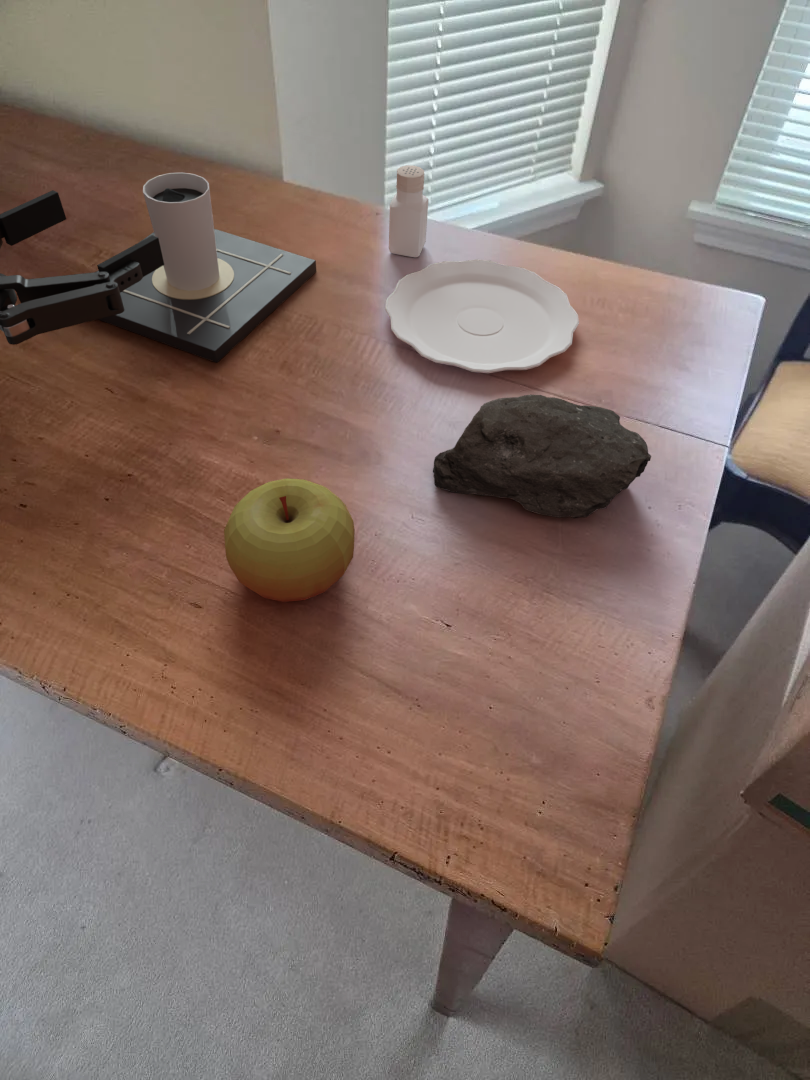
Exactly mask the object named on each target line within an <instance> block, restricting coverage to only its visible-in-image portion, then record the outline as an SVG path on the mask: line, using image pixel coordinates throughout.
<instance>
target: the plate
mask: <svg viewBox="0 0 810 1080" xmlns="http://www.w3.org/2000/svg"><path fill="white" fill-rule="evenodd" d="M384 306H385V307H384V310H385V311H386V313H387V315H388V317H389V319H390V329H391V332H392V333H393V334H394V335H395V337H396V338H397V339H398V340H400V341H401V342H403V343H405V344H407V345H409V346H410V347H412V348H413V349H414V351H416V352H417V353H418V354H419V355H420V356H421V357H422V358H425V359H426V360H429V361H432V362H433V363H434V364H435V363H436V364H441V365H447V366H454V367H456V368H460V369H463V370H466V371H469V372H471V373H480V374H481V373H482V374H492V373H498V372H502V371H503V372H504V371H527V370H530V369H534V368H537V367H540V366H541V365H543V364H544V363H545V362H547V361H548V360H550V358H553V357H556V356H558V355H560V354H564V353H565V352H566V351H567V350H568V349H569V348H570V347H571V346H572V344H573V339H574V333H575V331H576V330H577V328H578V327H579V325H580V320H579V314H578V312H577V311H576V310H575V308H574V307H573V306H572V305H571V303H570V299H569V297H568V294H567V293H566V292H564V291H563V289H562V288H561V287H559V286H558V285H555V284H553V283H551V282H549V281H547V280H546V279H544V278H543V277H542V276H540V275H539V274H537V273H536V272H535V271H533V270H529V269H527V268H524V267H522V266H521V267H520V266H515V265H508V264H503V263H500V262H496V261H494V260H490V259H479V258H477V259H469V260H461V261H459V260H457V261H455V260H453V261H452V260H451V261H447V260H445V261H440V262H435V263H431V264H429V265H427V266H426V267H424V268H422V269H420V270H418V271H415V272H412V273H409V274H406V275H405V276H403V277H402V278H400V279H399V280H397V283H396V286H395V288H394V291H393V292H392V293H390V294H389V296H387V298H386V300H385V305H384Z"/></svg>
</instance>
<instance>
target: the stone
mask: <svg viewBox="0 0 810 1080" xmlns="http://www.w3.org/2000/svg"><path fill="white" fill-rule="evenodd" d="M620 419H621V416H620V415H619V414H618V413H616V412H615V411H614V410H612V409H608V408H605V407H600V406H594V405H587V404H586V405H585V404H584V405H581V404H580V405H579V404H576V403H573V402H570V401H567V400H565V399H563V398H559V397H551V396H550V397H549V396H546V395H542V394H525V395H521V396H517V397H516V396H512V397H499V398H496V399H492V400H490V401H487V402H485V403H483V404H482V405H480V408H479V410H478V411H477V412H476V413H475V414H474V416H473V417H472V419H471V421H470V422H469V423H468V425H467V426H465V428H464V430H463V432H462V433H461V435H460V437H459V438H458V440H457V442H456V443H455V445H454V446H453V447H452V448H450V449H447V450H444V451H442V452H439V453H438V454H437V455H436V456H435V457H434V460H433V468H432V473H433V478H434V479H433V481H434V483H433V484H434V486H435V487H437V488H438V489H440V490H445V491H448V492H451V493H457V494H458V493H459V494H465V495H470V494H471V495H478V496H483V497H486V496H492V497H495V498H500V499H504V498H506V499H510V500H513V501H515V502H517V503H519V504H520V505H521V506H522V507H523V508H524V509H525V510H526V511H528V512H531V513H535V514H538V515H542V516H548V517H553V518H567V517H570V518H587V517H589V516H590V515H591V514H593V513H594V512H596V511H598V510H603V509H607V507H608V506H609V504H610V503H611V501H612V500H613V499H614V498H615V497H616V496H617V495H618V494H620V493H621V491H622V490H623V491H624V490H627V489H628V488H629V486H630V485H631V484H632V483H633V482H634V481H635V480H636V478H639V477H641V475H642V473H644V472H645V470H646V467H647V466H648V463H649V462H650V461H651V459H652V455H651V454H650V452H649V447H648V445H647V442H646V440H644V438H643V437H642V436H641V434H640V433H638V432H636V431H633V430H630V429H628V428H626V427H624V426H623V425H622V424H621V421H620Z"/></svg>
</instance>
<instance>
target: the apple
mask: <svg viewBox="0 0 810 1080" xmlns="http://www.w3.org/2000/svg"><path fill="white" fill-rule="evenodd" d="M355 534H356V531H355V523H354V519H353V517H352V515H351V513H350V511H349V509H348V507H347V505H346V504H345V502H344V501H343V500H342V499H341V498H340V497H339V496H338V495H337V494H335V493H334V492H333V491H331V490H330V489H329V488H328V487H326V486H325V485H322V484H318V483H315V482H313V481H310V480H307V479H302V478H282V479H281V478H280V479H277V480H271V481H267V482H266V483H264V484H262V485H261V484H260V485H259V486H257V487H255V488H253V489H251V490H250V491H249V492H248V493H247V494H245V495H244V497H242V499H240V500H239V501H238V502H237V503H236V504H235V505H234V507H233V509H232V510H231V513H230V515H229V518H228V520H227V522H226V524H225V526H224V529H223V539H224V550H225V558H226V561H227V564H228V566H229V568H230V570H231V571H232V573H233V575H234V576H235V578H236V579H237V580H238V582H239V583H240V584H241V585H243V586H245V587H246V588H248V589H249V590H250V591H252V592H254V593H255V594H257V595H259V596H260V597H262V598H264V599H268V600H272V601H278V602H282V603H286V602H288V603H289V602H298V601H299V602H300V601H306V600H309V599H311V598H314V597H316V596H318V595H321V594H324V593H325V592H326V591H328V590H329V589H330V588H331V587H332V586H333V585H335V584H336V583H337V582H338V581H339V580H341V578H342V577H343V576H344V575H345V573H346V571H347V569H348V568H349V566H350V564H351V563H352V561H353V558H354V552H355V536H356V535H355Z"/></svg>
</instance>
